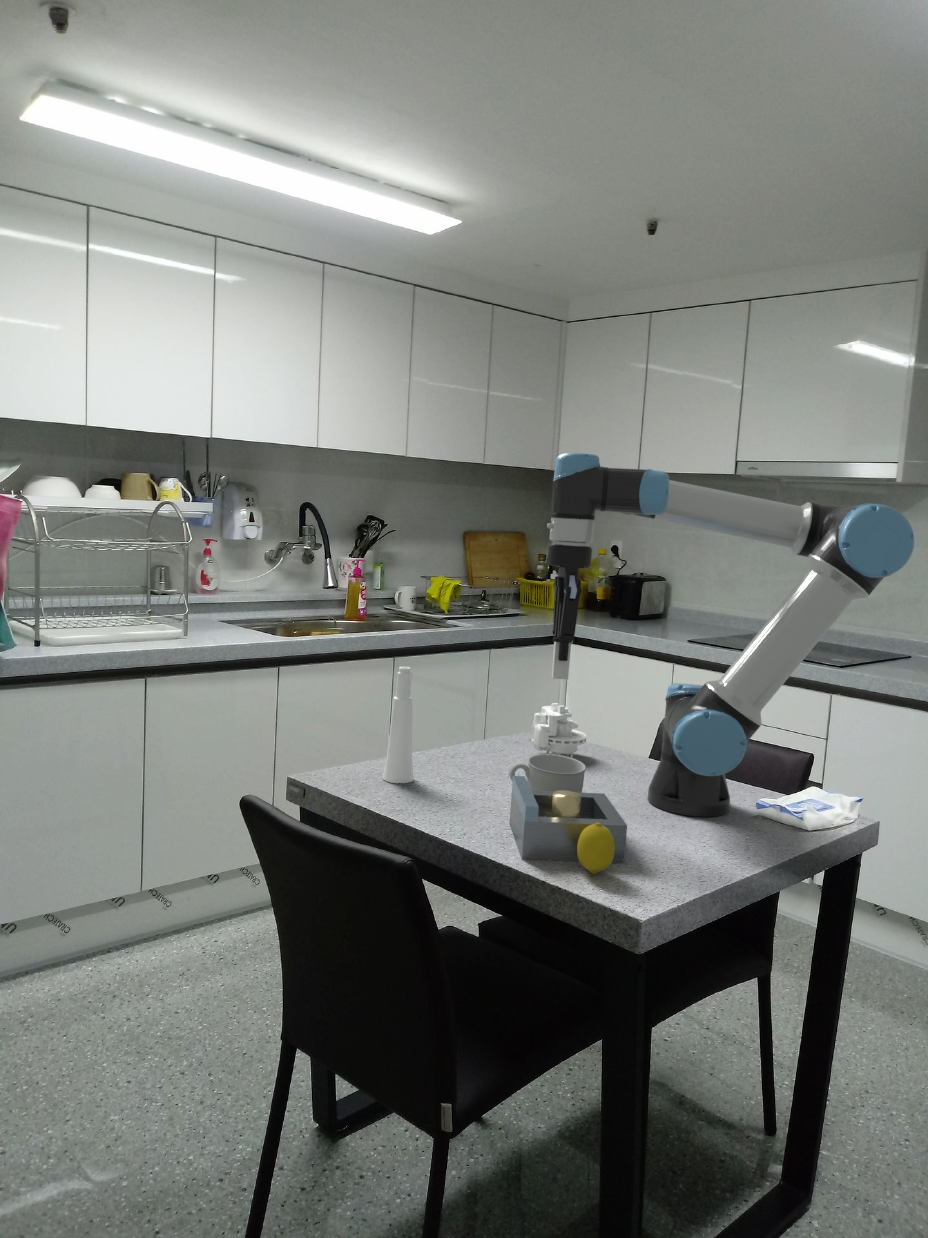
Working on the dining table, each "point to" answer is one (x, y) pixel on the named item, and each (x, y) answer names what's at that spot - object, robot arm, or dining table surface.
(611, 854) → the lemon
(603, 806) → the jig
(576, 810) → the brass cylinder
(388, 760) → the cosmetic bottle
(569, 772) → the teacup
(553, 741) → the mechanical part
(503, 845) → the dining table surface
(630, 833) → the dining table surface
